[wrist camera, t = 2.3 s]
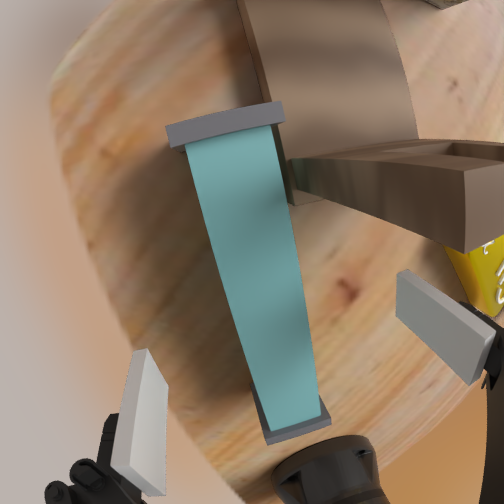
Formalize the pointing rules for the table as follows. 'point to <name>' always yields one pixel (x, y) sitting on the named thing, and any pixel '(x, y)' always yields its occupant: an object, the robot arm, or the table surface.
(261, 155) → the teal bar
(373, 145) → the rack
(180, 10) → the table surface
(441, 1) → the coffee box
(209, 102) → the table surface
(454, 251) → the element tile
